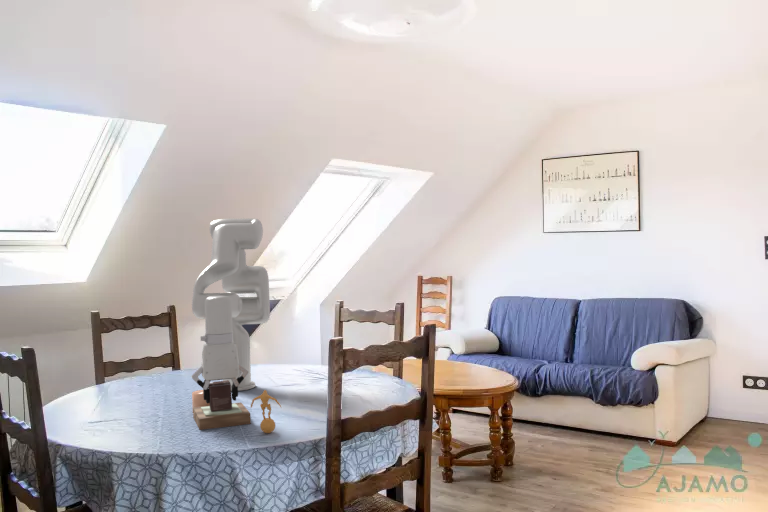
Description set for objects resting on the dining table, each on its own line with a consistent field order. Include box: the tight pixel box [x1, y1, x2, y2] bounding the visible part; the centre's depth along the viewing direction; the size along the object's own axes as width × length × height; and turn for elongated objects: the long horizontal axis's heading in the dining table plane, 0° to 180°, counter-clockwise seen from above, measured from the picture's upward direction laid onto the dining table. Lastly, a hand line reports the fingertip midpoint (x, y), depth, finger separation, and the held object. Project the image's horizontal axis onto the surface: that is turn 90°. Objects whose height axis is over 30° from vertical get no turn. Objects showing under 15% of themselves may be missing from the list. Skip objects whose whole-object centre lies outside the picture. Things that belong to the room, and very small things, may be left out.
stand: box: [192, 401, 252, 431], centre depth 198 cm, size 14×14×3 cm
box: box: [208, 380, 233, 412], centre depth 198 cm, size 6×6×7 cm
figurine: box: [250, 389, 282, 434], centre depth 184 cm, size 8×6×12 cm
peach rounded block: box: [191, 389, 210, 411], centre depth 209 cm, size 7×7×6 cm
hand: (220, 400), depth 198 cm, fingers open, 6 cm apart
